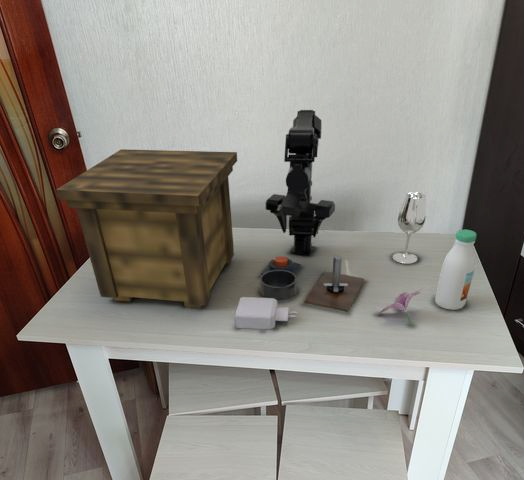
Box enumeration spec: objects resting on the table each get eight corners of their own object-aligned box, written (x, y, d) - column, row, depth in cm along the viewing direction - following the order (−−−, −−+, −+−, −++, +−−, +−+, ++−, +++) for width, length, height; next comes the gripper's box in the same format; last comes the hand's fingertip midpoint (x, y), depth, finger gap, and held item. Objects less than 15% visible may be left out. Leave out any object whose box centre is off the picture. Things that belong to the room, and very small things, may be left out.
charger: (295, 332, 117) (236, 329, 119) (297, 312, 125) (242, 310, 126) (295, 316, 114) (235, 314, 116) (298, 297, 122) (241, 295, 124)
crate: (212, 318, 124) (198, 195, 104) (91, 307, 130) (56, 189, 110) (243, 258, 151) (236, 152, 131) (141, 252, 157) (120, 149, 137)
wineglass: (390, 262, 146) (399, 198, 134) (394, 251, 151) (403, 189, 139) (416, 265, 143) (427, 201, 131) (419, 255, 149) (431, 192, 137)
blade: (323, 283, 134) (324, 251, 128) (346, 283, 134) (349, 251, 128) (323, 295, 129) (325, 262, 123) (348, 295, 128) (351, 262, 122)
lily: (424, 312, 125) (413, 278, 122) (438, 320, 113) (427, 283, 111) (380, 327, 126) (369, 294, 124) (390, 337, 115) (378, 301, 113)
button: (277, 260, 143) (277, 255, 142) (289, 262, 142) (289, 257, 141) (272, 266, 141) (272, 260, 140) (284, 268, 139) (284, 263, 138)
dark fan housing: (269, 281, 139) (269, 267, 136) (301, 287, 135) (302, 273, 132) (254, 297, 131) (254, 283, 129) (288, 304, 128) (288, 290, 125)
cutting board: (324, 274, 141) (325, 271, 140) (364, 282, 136) (364, 278, 136) (304, 304, 128) (304, 300, 127) (346, 313, 124) (347, 309, 123)
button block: (273, 262, 148) (273, 253, 146) (300, 267, 145) (300, 258, 143) (260, 276, 141) (260, 267, 139) (288, 282, 138) (288, 273, 136)
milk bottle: (449, 313, 122) (467, 241, 110) (428, 300, 127) (443, 230, 115) (471, 305, 125) (491, 234, 112) (449, 292, 130) (466, 223, 118)
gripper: (256, 185, 123) (258, 241, 133) (324, 193, 117) (321, 251, 126) (272, 173, 131) (273, 226, 141) (337, 180, 125) (333, 235, 134)
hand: (299, 234), depth 135 cm, fingers open, 9 cm apart
